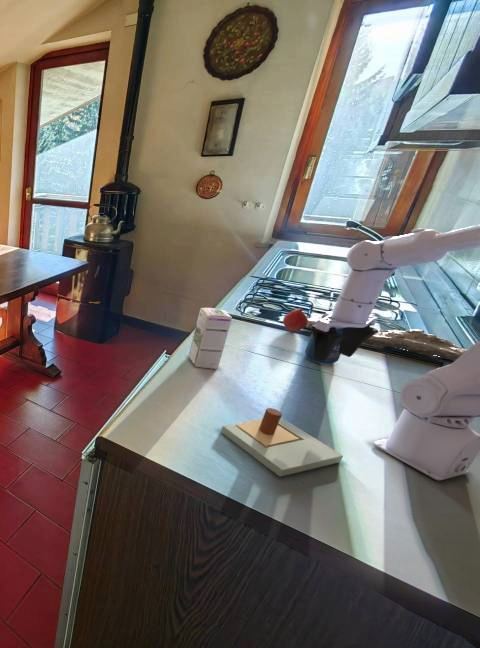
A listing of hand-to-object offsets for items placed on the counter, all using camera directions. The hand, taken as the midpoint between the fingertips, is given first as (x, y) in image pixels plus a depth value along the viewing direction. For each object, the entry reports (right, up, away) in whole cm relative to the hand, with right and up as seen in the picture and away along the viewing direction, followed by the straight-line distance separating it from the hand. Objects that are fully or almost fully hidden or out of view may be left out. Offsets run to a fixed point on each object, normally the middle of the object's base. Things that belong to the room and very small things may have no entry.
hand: (332, 356), depth 86 cm
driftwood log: (+41, +1, +29) cm, 51 cm away
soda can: (+14, -3, +19) cm, 24 cm away
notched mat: (-23, -16, -14) cm, 31 cm away
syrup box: (-19, -3, +16) cm, 25 cm away
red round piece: (+21, +4, +36) cm, 41 cm away
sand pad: (-24, -15, -11) cm, 30 cm away
